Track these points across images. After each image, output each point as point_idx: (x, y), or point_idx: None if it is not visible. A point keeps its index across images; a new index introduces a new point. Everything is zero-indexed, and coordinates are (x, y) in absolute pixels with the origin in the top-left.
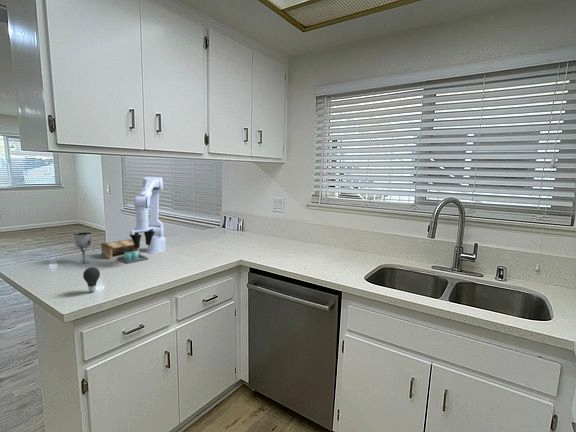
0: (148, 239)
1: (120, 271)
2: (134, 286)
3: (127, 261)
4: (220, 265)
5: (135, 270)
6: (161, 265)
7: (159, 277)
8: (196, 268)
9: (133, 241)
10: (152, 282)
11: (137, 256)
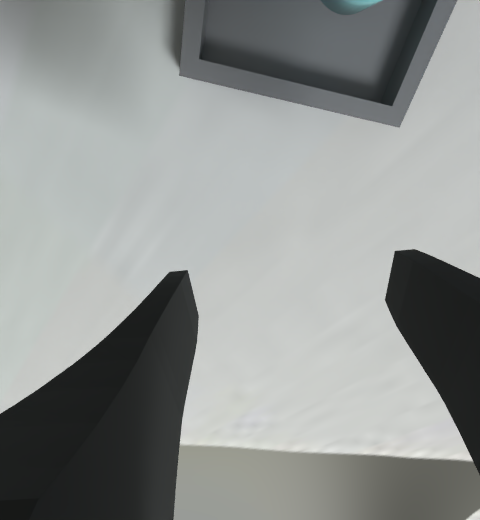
0: (444, 354)
1: (48, 206)
2: None
3: (180, 73)
4: (419, 457)
5: (137, 264)
6: (306, 304)
7: None
8: (342, 428)
9: (109, 341)
10: None
11: (365, 6)
